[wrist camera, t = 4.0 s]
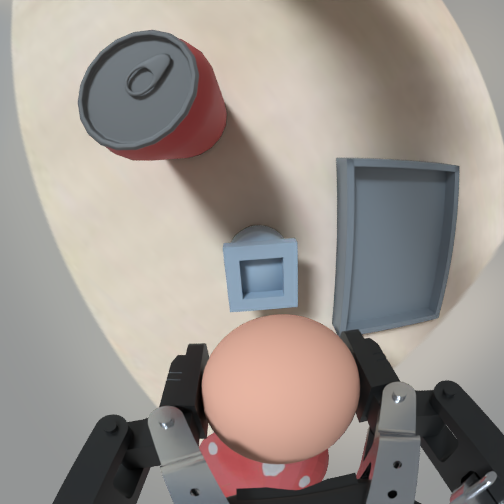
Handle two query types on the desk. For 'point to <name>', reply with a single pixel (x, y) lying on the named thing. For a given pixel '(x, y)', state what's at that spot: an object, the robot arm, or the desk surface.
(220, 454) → the decorative mushroom
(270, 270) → the square to round adapter
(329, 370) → the ball
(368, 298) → the tray
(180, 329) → the desk surface
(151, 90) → the beer can
